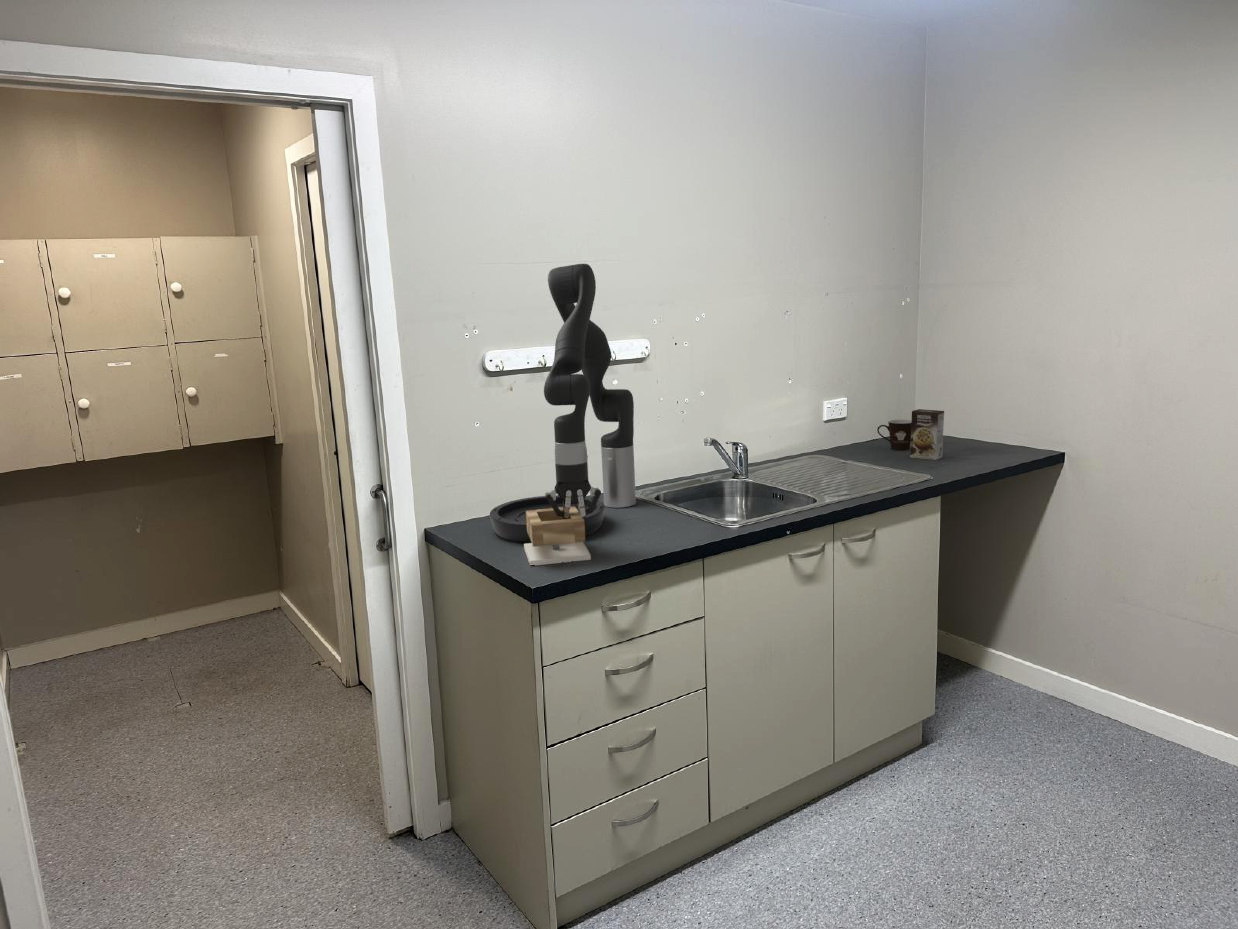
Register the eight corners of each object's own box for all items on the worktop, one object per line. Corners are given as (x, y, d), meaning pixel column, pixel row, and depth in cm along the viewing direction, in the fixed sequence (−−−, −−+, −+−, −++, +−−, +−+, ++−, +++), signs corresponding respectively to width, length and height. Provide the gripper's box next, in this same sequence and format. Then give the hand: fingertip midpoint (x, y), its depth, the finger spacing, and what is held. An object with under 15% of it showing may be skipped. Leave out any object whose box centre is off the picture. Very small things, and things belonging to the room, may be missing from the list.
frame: (527, 530, 206) (525, 510, 205) (575, 526, 209) (574, 506, 208) (533, 546, 193) (531, 525, 192) (585, 541, 195) (584, 520, 194)
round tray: (564, 508, 245) (470, 529, 227) (563, 488, 243) (469, 508, 226) (628, 529, 221) (529, 554, 204) (627, 506, 220) (528, 530, 202)
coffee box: (909, 457, 291) (910, 411, 288) (916, 454, 296) (917, 408, 292) (936, 460, 285) (937, 412, 282) (943, 457, 290) (944, 410, 287)
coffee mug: (916, 448, 307) (917, 420, 305) (906, 452, 300) (907, 424, 298) (886, 445, 314) (886, 418, 312) (875, 449, 308) (876, 421, 306)
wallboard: (524, 548, 207) (522, 530, 206) (580, 542, 210) (580, 525, 209) (530, 566, 194) (529, 547, 193) (590, 559, 196) (589, 540, 195)
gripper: (597, 455, 203) (601, 525, 207) (539, 459, 200) (544, 530, 204) (603, 460, 196) (607, 533, 199) (543, 465, 193) (548, 539, 197)
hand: (575, 531), depth 202 cm, fingers closed on frame, 2 cm apart
